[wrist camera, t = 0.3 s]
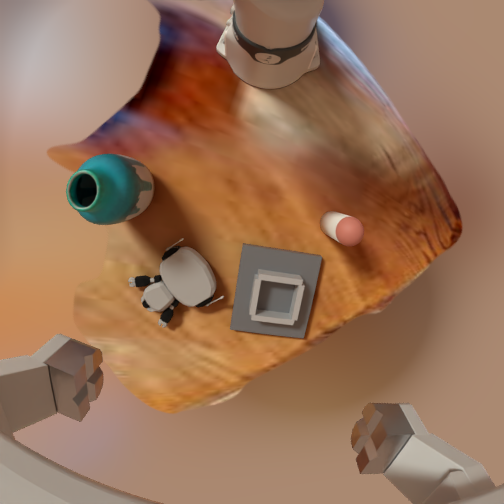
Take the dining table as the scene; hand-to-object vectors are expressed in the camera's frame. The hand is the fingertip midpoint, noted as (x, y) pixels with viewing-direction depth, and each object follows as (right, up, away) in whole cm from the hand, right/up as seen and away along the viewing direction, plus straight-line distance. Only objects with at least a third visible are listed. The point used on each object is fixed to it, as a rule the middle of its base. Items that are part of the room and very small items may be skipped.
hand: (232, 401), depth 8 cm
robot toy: (-13, -1, +48) cm, 50 cm away
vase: (-21, +16, +44) cm, 51 cm away
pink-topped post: (+15, +9, +46) cm, 49 cm away
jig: (+5, -3, +48) cm, 49 cm away
